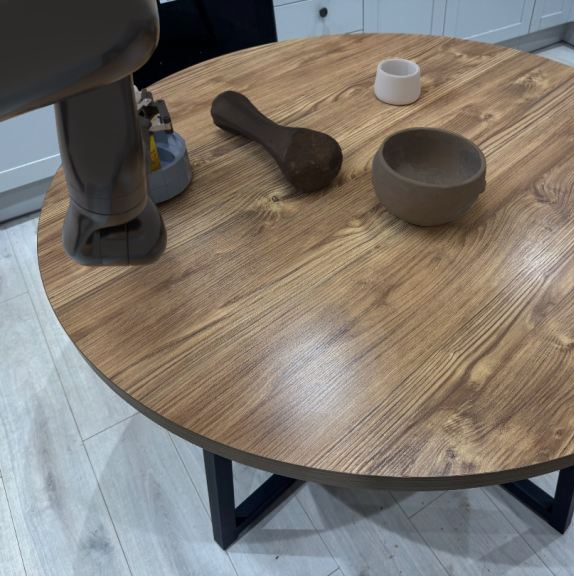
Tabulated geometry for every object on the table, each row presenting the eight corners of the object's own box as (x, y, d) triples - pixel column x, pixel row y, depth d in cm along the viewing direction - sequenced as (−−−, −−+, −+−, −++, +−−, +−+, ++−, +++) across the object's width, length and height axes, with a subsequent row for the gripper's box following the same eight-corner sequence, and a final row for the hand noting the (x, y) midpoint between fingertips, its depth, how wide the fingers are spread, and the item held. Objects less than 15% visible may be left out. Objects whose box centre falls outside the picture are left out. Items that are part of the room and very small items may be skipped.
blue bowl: (80, 210, 88) (66, 177, 84) (110, 155, 99) (100, 123, 94) (181, 212, 89) (173, 179, 84) (201, 157, 99) (194, 126, 95)
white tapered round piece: (403, 111, 115) (406, 82, 110) (364, 96, 118) (365, 68, 114) (434, 90, 122) (437, 62, 118) (396, 76, 125) (398, 49, 121)
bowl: (492, 194, 96) (504, 142, 89) (454, 256, 85) (464, 201, 78) (399, 165, 101) (404, 113, 94) (351, 219, 89) (352, 165, 82)
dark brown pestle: (337, 199, 96) (242, 149, 112) (355, 138, 93) (254, 95, 108) (288, 194, 88) (192, 141, 103) (306, 127, 85) (204, 82, 100)
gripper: (170, 124, 73) (166, 68, 84) (48, 136, 70) (61, 76, 81) (182, 173, 79) (177, 114, 90) (69, 187, 75) (78, 124, 86)
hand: (122, 96), depth 85 cm, fingers closed on beer can, 6 cm apart
